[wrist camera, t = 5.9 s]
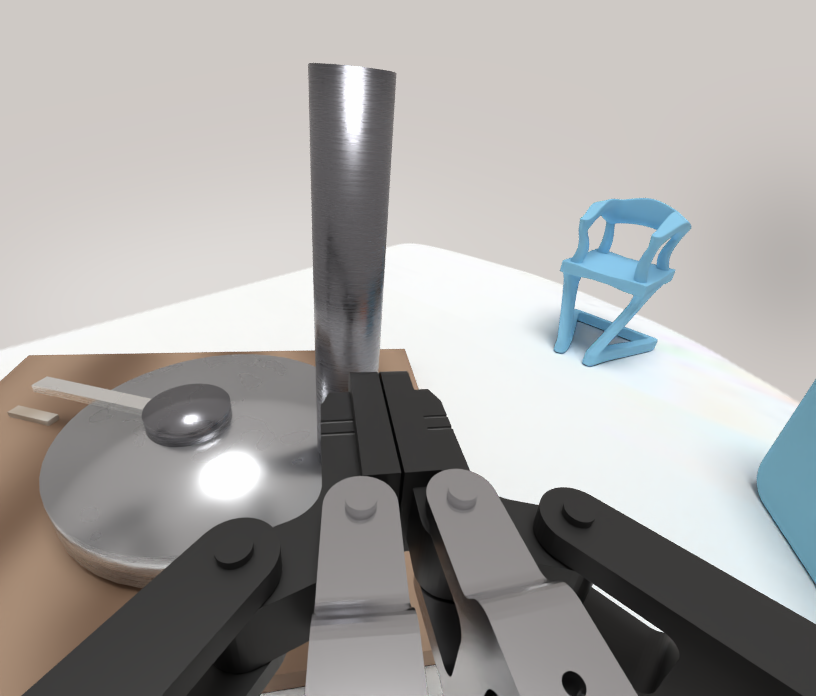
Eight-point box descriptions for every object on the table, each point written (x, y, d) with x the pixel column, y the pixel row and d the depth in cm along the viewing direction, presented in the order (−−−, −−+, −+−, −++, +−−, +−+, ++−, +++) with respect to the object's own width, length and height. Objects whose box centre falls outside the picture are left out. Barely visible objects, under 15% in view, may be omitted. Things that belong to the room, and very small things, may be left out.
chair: (528, 340, 37) (565, 194, 31) (573, 316, 42) (612, 188, 37) (617, 380, 33) (680, 218, 27) (655, 348, 38) (714, 207, 32)
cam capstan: (-103, 519, 16) (-503, -26, 9) (146, 355, 28) (73, 53, 20) (313, 639, 14) (288, 35, 6) (402, 406, 25) (433, 86, 17)
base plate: (-416, 805, 11) (-464, 786, 10) (34, 368, 28) (27, 351, 27) (499, 653, 15) (507, 633, 15) (403, 360, 32) (404, 345, 32)
